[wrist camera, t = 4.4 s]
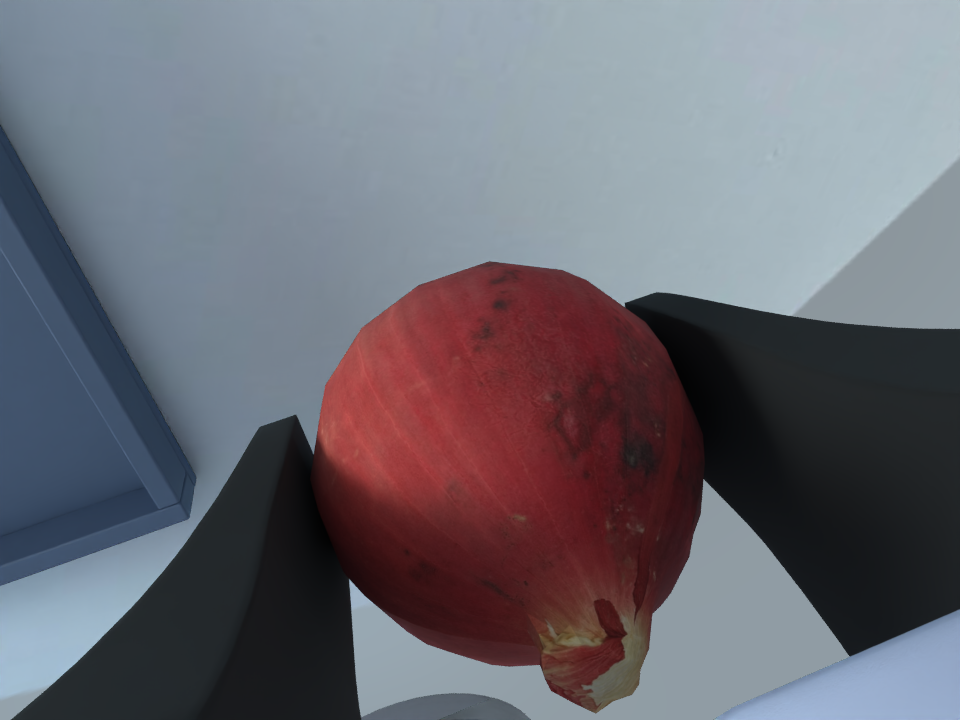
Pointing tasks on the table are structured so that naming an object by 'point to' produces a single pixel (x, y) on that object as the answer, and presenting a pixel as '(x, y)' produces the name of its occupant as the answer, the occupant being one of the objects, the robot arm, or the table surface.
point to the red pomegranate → (513, 474)
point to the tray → (70, 405)
